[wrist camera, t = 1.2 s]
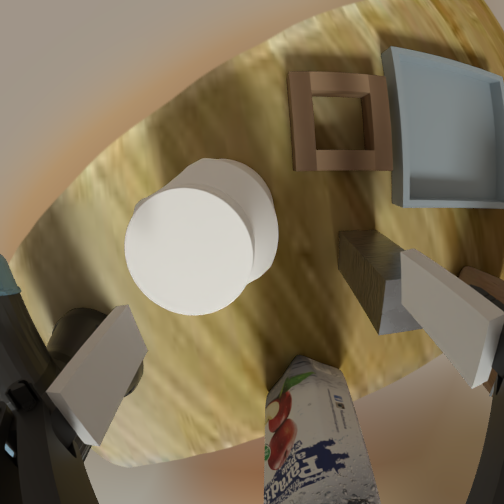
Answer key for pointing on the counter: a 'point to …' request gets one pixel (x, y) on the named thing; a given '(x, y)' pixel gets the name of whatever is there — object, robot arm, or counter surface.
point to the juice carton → (315, 440)
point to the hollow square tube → (374, 121)
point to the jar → (202, 237)
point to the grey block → (375, 278)
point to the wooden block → (494, 288)
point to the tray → (444, 132)
